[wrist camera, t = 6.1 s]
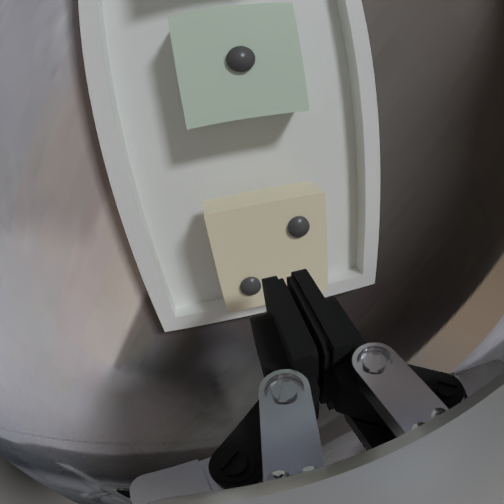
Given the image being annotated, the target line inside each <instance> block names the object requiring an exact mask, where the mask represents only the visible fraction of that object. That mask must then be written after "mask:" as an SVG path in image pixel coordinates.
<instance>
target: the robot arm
mask: <svg viewBox="0 0 504 504" xmlns="http://www.w3.org/2000/svg"><path fill="white" fill-rule="evenodd" d="M262 286H263V293H264V299H265V305H266V312H267V314H265V315H261V316H256V317H252V318H250V322H251V327H252V332H253V336H254V341H255V345H256V349H257V353H258V356H259V360H260V364H261V367H262V371H263V375H264V379H263V380H262V382H261V383H260V385H259V400H258V401H257V403H256V404H255V405H254V406H253V408H252V409H251V410H250V411H249V413H248V414H247V415H246V416H245V417H244V419H243V420H242V421H241V422H240V423H239V425H238V426H237V427H236V428H235V429H234V431H233V432H232V433H231V434H230V435H229V436H228V438H227V439H226V440H225V441H224V442H223V443H222V444H221V446H220V447H219V448H218V449H217V450H216V451H215V452H214V454H213V455H212V457H210V458H207V459H204V460H201V461H199V460H198V459H197V460H194V461H190V462H187V463H184V464H181V465H177V466H174V467H171V468H167V469H163V470H160V471H156V472H152V473H148V474H144V475H141V476H139V477H137V478H136V479H135V480H134V481H133V482H132V484H131V487H130V496H131V500H132V504H504V361H503V360H499V359H498V360H493V361H490V362H487V363H484V364H481V365H478V366H475V367H472V368H469V369H466V370H463V371H460V372H457V374H456V375H455V376H453V375H450V374H447V373H443V372H439V371H434V370H430V369H426V368H422V367H417V366H413V365H409V364H406V363H405V361H404V360H403V359H402V358H401V357H400V356H399V355H398V354H397V353H396V352H395V351H394V350H393V349H392V348H390V347H389V346H387V345H385V344H382V343H376V342H374V343H367V344H366V343H365V342H364V340H363V338H362V337H361V335H360V334H359V332H358V331H357V329H356V328H355V326H354V325H353V323H352V322H351V320H350V319H349V317H348V316H347V314H346V313H345V311H344V310H343V308H342V307H341V305H340V304H339V302H338V301H337V299H336V298H334V297H331V298H328V299H325V297H324V296H323V294H322V292H321V291H320V289H319V288H318V286H317V285H316V283H315V281H314V280H313V278H312V277H311V275H310V274H309V272H308V271H307V269H302V270H298V271H293V272H291V276H289V277H287V285H286V283H285V281H284V279H283V278H281V279H278V278H277V276H272V277H268V278H263V279H262ZM319 401H320V403H321V404H324V403H326V404H327V407H328V409H329V410H331V409H334V408H335V410H336V412H339V413H342V414H344V417H345V419H346V421H347V422H348V424H349V425H350V427H351V428H352V430H353V431H354V433H355V434H356V436H357V437H358V439H359V440H360V442H361V443H362V445H363V446H364V447H365V449H366V450H367V451H365V452H363V453H360V454H358V455H355V456H352V457H350V458H347V459H344V460H341V461H338V462H336V463H333V464H330V465H327V466H325V465H324V459H323V453H322V448H321V442H320V437H319V431H318V426H317V419H318V414H319Z"/></svg>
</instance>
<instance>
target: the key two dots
mask: <svg viewBox="0 0 504 504" xmlns="http://www.w3.org/2000/svg"><path fill="white" fill-rule="evenodd" d="M203 211H204V219H205V223H206V228H207V232H208V236H209V240H210V244H211V249H212V253H213V257H214V261H215V265H216V269H217V273H218V277H219V281H220V285H221V289H222V293H223V297H224V301H225V305H226V308H227V312H228V313H230V312H235V311H240V310H244V309H249V308H253V307H258V306H262V305H265V299H264V293H263V286H262V279H263V278H268V277H272V276H277V278H278V279H281V278H283V279H284V281H285V283H286V285H287V277H289V276H291V272H293V271H298V270H302V269H307V271H308V272H309V274H310V275H311V277H312V278H313V280H314V281H315V283H316V285H317V286H318V288H319V289H320V291H325V290H328V248H327V218H326V198H325V192H324V191H323V190H322V189H320V188H319V187H318V186H316V185H315V184H314V183H312V182H311V181H305V182H299V183H293V184H287V185H281V186H275V187H270V188H264V189H259V190H254V191H248V192H243V193H238V194H233V195H228V196H223V197H218V198H214V199H209V200H204V201H203Z"/></svg>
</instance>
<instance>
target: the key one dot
mask: <svg viewBox="0 0 504 504" xmlns="http://www.w3.org/2000/svg"><path fill="white" fill-rule="evenodd" d="M167 17H168V24H169V30H170V37H171V43H172V49H173V55H174V61H175V67H176V73H177V79H178V84H179V90H180V95H181V101H182V106H183V111H184V117H185V122H186V127H187V130H188V129H193V128H198V127H202V126H207V125H212V124H218V123H223V122H229V121H234V120H240V119H247V118H253V117H260V116H268V115H275V114H284V113H293V112H303V111H310V110H309V102H308V94H307V87H306V79H305V72H304V66H303V59H302V53H301V47H300V41H299V35H298V30H297V24H296V19H295V14H294V8H293V3H258V4H243V5H233V6H224V7H216V8H209V9H202V10H196V11H191V12H185V13H180V14H176V15H171V16H167Z"/></svg>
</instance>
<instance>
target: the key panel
mask: <svg viewBox="0 0 504 504" xmlns="http://www.w3.org/2000/svg"><path fill="white" fill-rule="evenodd" d="M258 3H293V8H294V14H295V19H296V24H297V30H298V35H299V41H300V47H301V53H302V59H303V66H304V72H305V79H306V87H307V94H308V102H309V110H310V111H303V112H293V113H284V114H275V115H268V116H260V117H253V118H247V119H240V120H234V121H229V122H223V123H218V124H212V125H207V126H202V127H198V128H193V129H188V130H187V127H186V122H185V117H184V111H183V106H182V101H181V95H180V90H179V84H178V79H177V73H176V67H175V61H174V55H173V49H172V43H171V37H170V30H169V24H168V17H167V16H171V15H176V14H180V13H185V12H191V11H196V10H202V9H209V8H216V7H224V6H233V5H243V4H258ZM78 7H79V21H80V32H81V42H82V50H83V58H84V65H85V72H86V78H87V84H88V90H89V96H90V101H91V106H92V111H93V116H94V121H95V126H96V130H97V134H98V139H99V143H100V147H101V151H102V155H103V159H104V163H105V167H106V170H107V174H108V178H109V181H110V185H111V188H112V191H113V195H114V198H115V201H116V205H117V208H118V211H119V214H120V217H121V220H122V223H123V226H124V229H125V232H126V235H127V238H128V241H129V244H130V247H131V250H132V252H133V255H134V258H135V261H136V263H137V266H138V268H139V271H140V274H141V276H142V279H143V281H144V284H145V286H146V289H147V291H148V294H149V296H150V299H151V301H152V303H153V306H154V308H155V311H156V313H157V315H158V317H159V320H160V322H161V324H162V327H163V329H164V331H165V332H168V331H174V330H179V329H185V328H190V327H196V326H201V325H206V324H211V323H216V322H221V321H226V320H231V319H235V318H240V317H245V316H249V315H254V314H258V313H263V312H266V305H262V306H258V307H253V308H249V309H244V310H240V311H235V312H230V313H228V312H227V308H226V305H225V301H224V297H223V293H222V289H221V285H220V281H219V277H218V273H217V269H216V265H215V261H214V257H213V253H212V249H211V244H210V240H209V236H208V232H207V228H206V223H205V219H204V211H203V201H204V200H209V199H214V198H218V197H223V196H228V195H233V194H238V193H243V192H248V191H254V190H259V189H264V188H270V187H275V186H281V185H287V184H293V183H299V182H305V181H311V182H312V183H314V184H315V185H316V186H318V187H319V188H320V189H322V190H323V191H324V192H325V198H326V218H327V248H328V290H325V291H321V292H322V294H323V296H324V297H328V296H332V295H336V294H339V293H343V292H347V291H350V290H354V289H357V288H361V287H365V286H368V285H371V284H375V276H376V265H377V253H378V238H379V218H380V143H379V123H378V109H377V98H376V87H375V78H374V70H373V63H372V56H371V49H370V43H369V37H368V31H367V26H366V20H365V15H364V11H363V6H362V1H361V0H78Z"/></svg>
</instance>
